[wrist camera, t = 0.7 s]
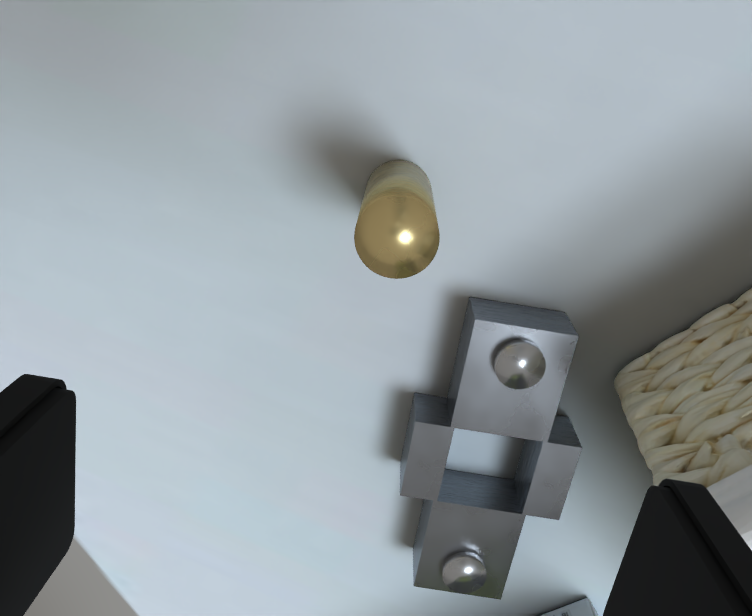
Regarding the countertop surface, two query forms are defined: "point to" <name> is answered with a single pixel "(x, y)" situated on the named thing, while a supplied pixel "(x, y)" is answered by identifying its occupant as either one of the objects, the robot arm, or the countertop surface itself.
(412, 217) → the brass pin
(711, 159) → the countertop surface
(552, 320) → the grey metal bracket
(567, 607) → the tea box
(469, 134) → the countertop surface
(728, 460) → the storage basket
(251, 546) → the countertop surface
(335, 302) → the countertop surface
